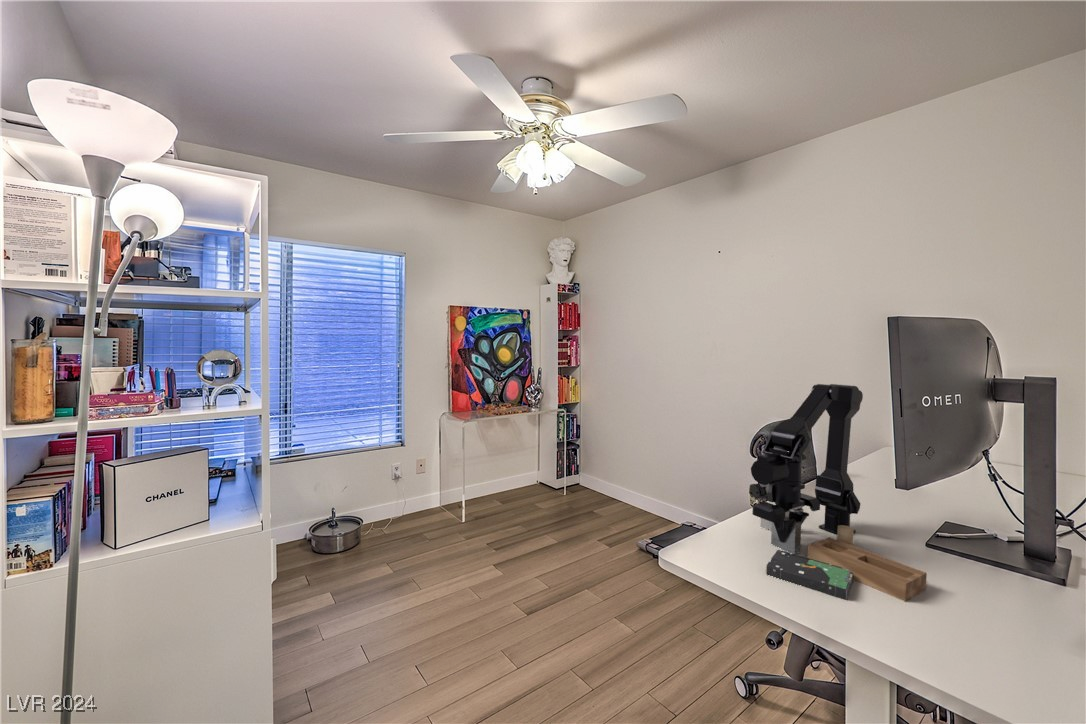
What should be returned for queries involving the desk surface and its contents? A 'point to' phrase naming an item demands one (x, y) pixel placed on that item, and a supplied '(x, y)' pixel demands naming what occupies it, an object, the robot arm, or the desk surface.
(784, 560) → the disk drive
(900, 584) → the socket board
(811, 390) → the robot arm
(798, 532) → the tall grey rectangular prism
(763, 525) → the lighter
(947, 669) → the desk surface
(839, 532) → the round dowel
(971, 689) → the desk surface
